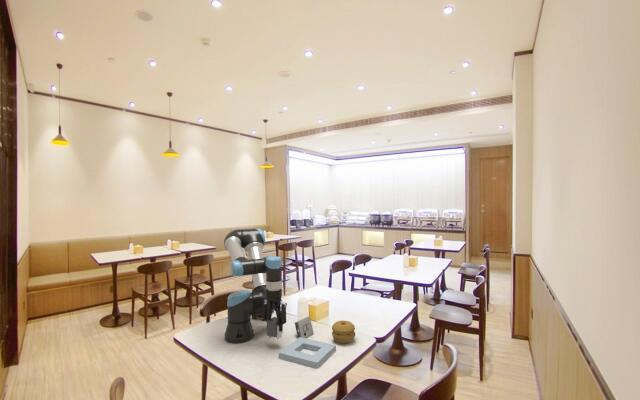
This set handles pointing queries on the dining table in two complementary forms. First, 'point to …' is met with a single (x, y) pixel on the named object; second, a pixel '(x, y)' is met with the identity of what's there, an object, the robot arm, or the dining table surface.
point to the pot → (343, 331)
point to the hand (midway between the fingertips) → (274, 336)
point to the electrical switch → (304, 327)
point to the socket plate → (306, 359)
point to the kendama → (257, 316)
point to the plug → (272, 327)
